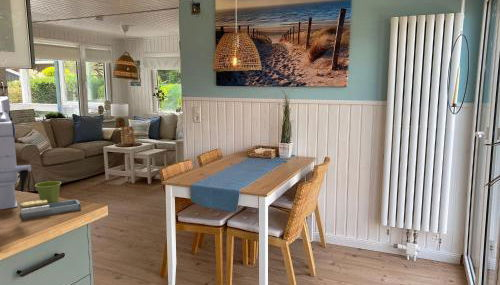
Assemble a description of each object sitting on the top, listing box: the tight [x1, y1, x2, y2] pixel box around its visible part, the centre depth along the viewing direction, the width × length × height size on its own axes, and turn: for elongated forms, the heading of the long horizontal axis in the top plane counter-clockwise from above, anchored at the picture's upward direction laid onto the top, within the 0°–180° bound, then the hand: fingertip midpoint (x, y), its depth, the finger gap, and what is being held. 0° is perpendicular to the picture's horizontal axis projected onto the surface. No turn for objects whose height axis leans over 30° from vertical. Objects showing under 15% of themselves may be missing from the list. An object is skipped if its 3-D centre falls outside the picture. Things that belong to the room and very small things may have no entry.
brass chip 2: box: [34, 199, 48, 207], centre depth 147 cm, size 4×4×2 cm
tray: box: [48, 198, 82, 215], centre depth 151 cm, size 8×11×2 cm
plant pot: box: [34, 180, 62, 203], centre depth 156 cm, size 9×9×9 cm
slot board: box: [19, 203, 51, 220], centre depth 146 cm, size 9×9×4 cm
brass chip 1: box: [21, 200, 35, 209], centre depth 144 cm, size 4×4×2 cm
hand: (9, 192), depth 139 cm, fingers open, 7 cm apart
